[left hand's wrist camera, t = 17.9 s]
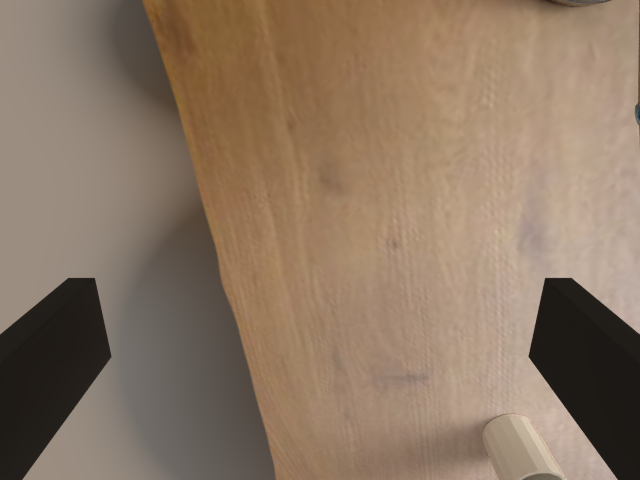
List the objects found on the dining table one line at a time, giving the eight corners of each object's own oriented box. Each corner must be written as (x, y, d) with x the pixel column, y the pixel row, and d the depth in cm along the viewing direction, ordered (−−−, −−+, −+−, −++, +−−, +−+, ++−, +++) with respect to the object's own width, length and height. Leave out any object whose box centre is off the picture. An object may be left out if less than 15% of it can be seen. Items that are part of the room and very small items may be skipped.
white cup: (485, 413, 58) (513, 471, 50) (538, 413, 58) (575, 471, 50) (478, 453, 61) (503, 514, 53) (529, 453, 61) (562, 514, 53)
